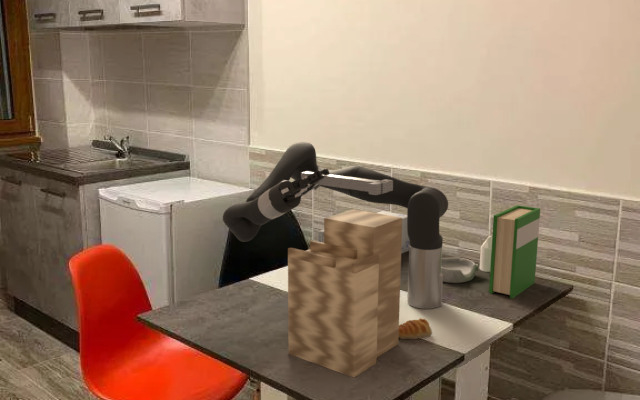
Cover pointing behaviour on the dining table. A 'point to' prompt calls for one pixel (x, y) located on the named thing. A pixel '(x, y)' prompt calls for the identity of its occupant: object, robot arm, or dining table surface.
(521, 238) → the hardback book
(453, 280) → the dish
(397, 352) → the dining table surface
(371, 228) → the stand
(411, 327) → the pastry
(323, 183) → the t handle
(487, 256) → the white bottle
